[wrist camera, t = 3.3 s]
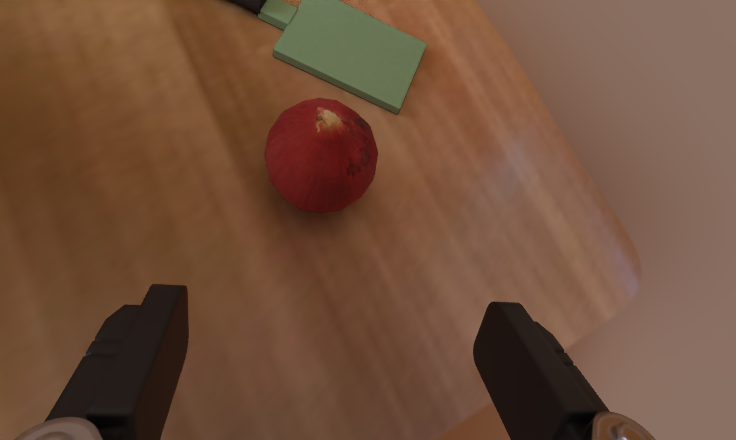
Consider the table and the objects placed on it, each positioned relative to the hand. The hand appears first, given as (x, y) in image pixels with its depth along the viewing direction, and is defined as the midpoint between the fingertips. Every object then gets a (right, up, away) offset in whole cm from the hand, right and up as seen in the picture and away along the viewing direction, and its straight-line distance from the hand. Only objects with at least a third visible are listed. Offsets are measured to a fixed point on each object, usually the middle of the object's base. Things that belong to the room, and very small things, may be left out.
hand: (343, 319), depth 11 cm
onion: (-3, +5, +15) cm, 16 cm away
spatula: (-6, +17, +17) cm, 25 cm away
